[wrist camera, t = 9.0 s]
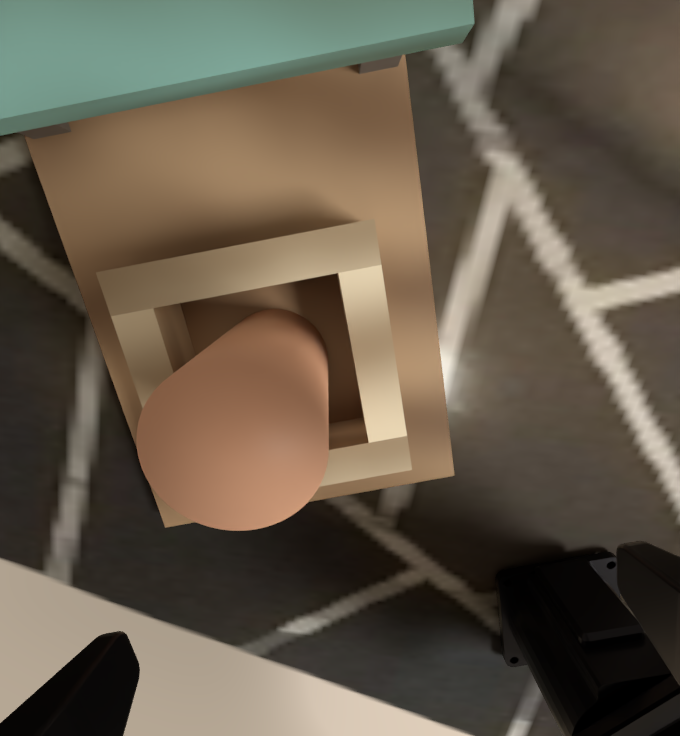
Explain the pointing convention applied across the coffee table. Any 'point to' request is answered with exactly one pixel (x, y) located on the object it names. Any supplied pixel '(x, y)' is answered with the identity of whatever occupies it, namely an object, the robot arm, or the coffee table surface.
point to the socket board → (245, 195)
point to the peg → (242, 425)
